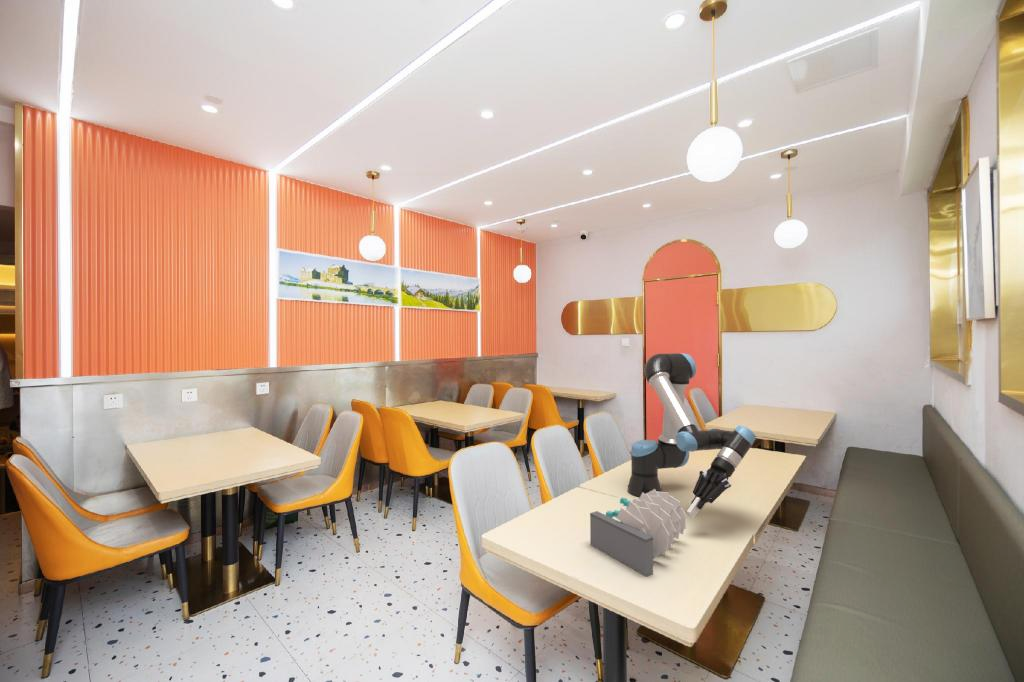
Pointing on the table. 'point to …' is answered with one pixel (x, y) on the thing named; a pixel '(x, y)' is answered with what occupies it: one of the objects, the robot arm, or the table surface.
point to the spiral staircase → (655, 518)
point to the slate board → (622, 542)
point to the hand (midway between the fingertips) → (690, 514)
